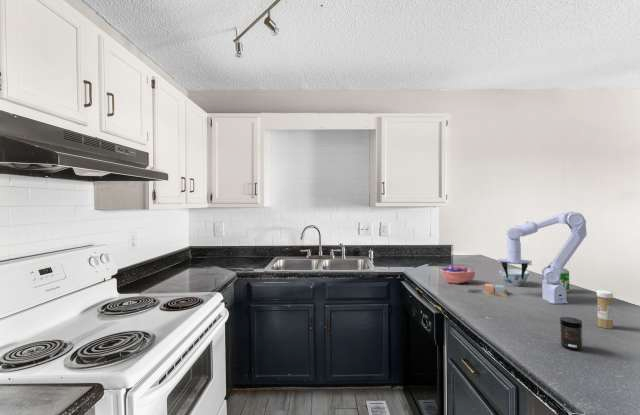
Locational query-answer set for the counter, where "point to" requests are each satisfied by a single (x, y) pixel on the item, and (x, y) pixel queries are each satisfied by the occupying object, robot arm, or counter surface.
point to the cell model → (457, 274)
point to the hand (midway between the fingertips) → (514, 278)
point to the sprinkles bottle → (605, 309)
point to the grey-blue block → (499, 288)
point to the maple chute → (489, 292)
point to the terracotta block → (489, 287)
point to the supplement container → (571, 333)
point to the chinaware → (514, 276)
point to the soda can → (565, 279)
